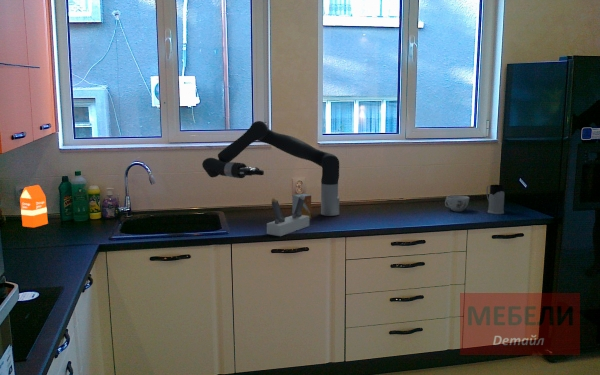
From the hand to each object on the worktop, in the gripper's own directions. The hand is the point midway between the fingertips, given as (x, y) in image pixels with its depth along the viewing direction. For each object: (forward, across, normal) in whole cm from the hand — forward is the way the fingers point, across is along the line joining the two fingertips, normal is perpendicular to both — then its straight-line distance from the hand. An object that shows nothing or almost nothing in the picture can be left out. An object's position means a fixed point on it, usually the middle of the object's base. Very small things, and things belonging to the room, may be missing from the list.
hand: (262, 172), depth 248 cm
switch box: (+10, +7, +28) cm, 31 cm away
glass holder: (+80, +105, +28) cm, 136 cm away
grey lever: (+10, +14, +23) cm, 28 cm away
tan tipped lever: (+10, 0, +22) cm, 24 cm away
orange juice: (-102, -57, +28) cm, 121 cm away
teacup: (+63, +95, +28) cm, 117 cm away
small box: (+3, +29, +28) cm, 40 cm away
